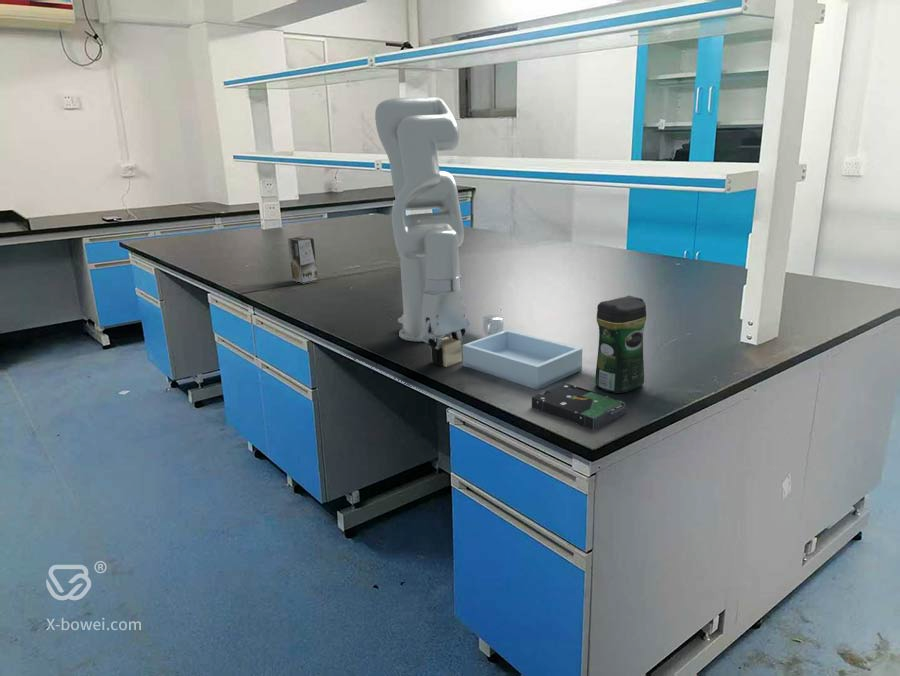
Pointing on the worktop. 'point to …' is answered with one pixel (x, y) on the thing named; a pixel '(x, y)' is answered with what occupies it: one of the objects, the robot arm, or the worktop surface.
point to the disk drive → (579, 405)
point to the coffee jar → (620, 344)
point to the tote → (522, 358)
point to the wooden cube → (450, 351)
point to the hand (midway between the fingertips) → (446, 359)
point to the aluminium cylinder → (492, 325)
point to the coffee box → (302, 258)
